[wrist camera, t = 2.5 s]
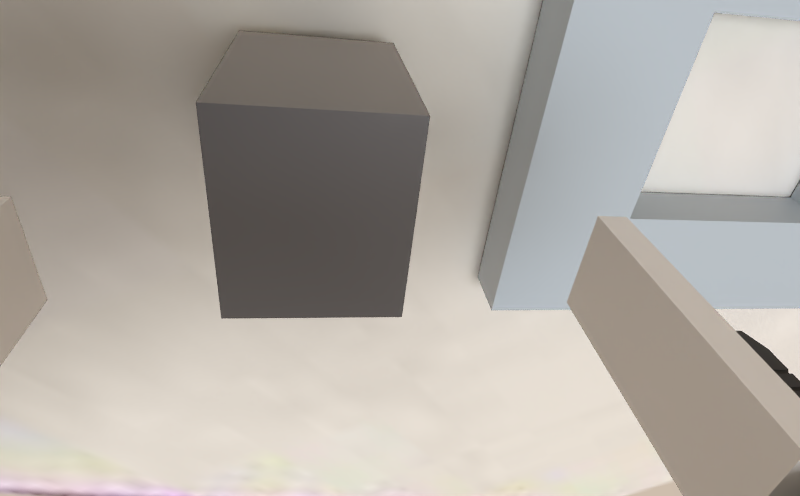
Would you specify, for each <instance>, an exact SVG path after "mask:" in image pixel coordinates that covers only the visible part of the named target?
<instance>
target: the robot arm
mask: <svg viewBox="0 0 800 496" xmlns="http://www.w3.org/2000/svg"><path fill="white" fill-rule="evenodd" d="M46 301H47V297H46V295H45V292H44V289H43V286H42V283H41V280H40V278H39V275H38V272H37V269H36V266H35V263H34V261H33V258H32V255H31V252H30V249H29V246H28V244H27V241H26V238H25V235H24V232H23V229H22V227H21V224H20V221H19V218H18V215H17V212H16V209H15V207H14V204H13V201H12V198H11V197H5V196H0V366H1V365H2V363H3V362H4V360H5V359H6V358H7V356H8V355H9V353H10V352H11V351H12V349H13V348H14V346H15V345H16V343H17V342H18V341H19V339H20V338H21V336H22V335H23V334H24V332H25V331H26V329H27V328H28V327H29V325H30V324H31V322H32V321H33V319H34V318H35V317H36V315H37V314H38V312H39V311H40V310H41V308H42V307H43V305H44V304H45V303H46ZM567 304H568V305H569V307H570V309H571V310H572V312H573V314H574V315H575V317H576V319H577V320H578V322H579V324H580V325H581V327H582V329H583V330H584V332H585V334H586V335H587V337H588V339H589V340H590V342H591V344H592V345H593V347H594V349H595V350H596V352H597V354H598V355H599V357H600V359H601V360H602V362H603V364H604V365H605V367H606V369H607V370H608V372H609V374H610V375H611V377H612V379H613V380H614V382H615V384H616V385H617V387H618V389H619V390H620V392H621V394H622V395H623V397H624V399H625V400H626V402H627V403H628V405H629V407H630V408H631V410H632V412H633V413H634V415H635V417H636V418H637V420H638V422H639V423H640V425H641V427H642V428H643V430H644V432H645V433H646V435H647V437H648V438H649V440H650V442H651V443H652V445H653V447H654V448H655V450H656V452H657V453H658V455H659V457H660V458H661V460H662V462H663V463H664V465H665V467H666V468H667V470H668V472H669V473H670V475H671V477H672V478H673V480H674V482H675V483H676V485H677V487H678V488H679V490H680V492H681V493H682V495H683V496H800V381H799V380H798V379H797V378H796V377H795V376H794V375H793V374H789V373H788V369H787V368H786V367H785V366H784V365H783V364H782V363H781V362H780V361H779V360H778V359H777V358H776V357H775V356H774V355H773V353H772V352H771V351H770V350H769V349H767V348H766V347H764V346H763V345H761V344H760V343H758V342H757V341H755V340H754V339H753V338H751V337H750V336H748V335H747V334H745V333H744V332H742V331H735V330H734V329H733V328H732V327H731V326H730V325H729V324H728V323H727V321H726V320H725V319H724V318H723V317H722V316H721V315H720V314H719V313H718V312H717V311H716V310H715V309H714V308H713V307H712V306H711V305H710V304H709V303H708V302H707V301H706V300H705V298H704V297H703V296H702V295H701V294H700V293H699V292H698V291H697V290H696V289H695V288H694V287H693V286H692V285H691V284H690V283H689V282H688V281H687V280H686V279H685V278H684V277H683V275H682V274H681V273H680V272H679V271H678V270H677V269H676V268H675V267H674V266H673V265H672V264H671V263H670V262H669V261H668V260H667V259H666V258H665V257H664V256H663V255H662V254H661V253H660V251H659V250H658V249H657V248H656V247H655V246H654V245H653V244H652V243H651V242H650V241H649V240H648V239H647V238H646V237H645V236H644V235H643V234H642V233H641V232H640V231H639V230H638V228H637V227H636V226H635V225H634V224H633V223H632V222H631V221H630V220H629V219H628V218H627V217H614V216H598V217H597V220H596V223H595V225H594V228H593V231H592V234H591V237H590V239H589V242H588V245H587V248H586V250H585V253H584V256H583V259H582V261H581V264H580V267H579V270H578V272H577V275H576V278H575V281H574V283H573V286H572V289H571V292H570V294H569V297H568V300H567Z"/></svg>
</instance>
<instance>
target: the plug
mask: <svg viewBox="0 0 800 496" xmlns="http://www.w3.org/2000/svg"><path fill="white" fill-rule="evenodd" d="M196 107H197V116H198V124H199V133H200V141H201V150H202V158H203V166H204V175H205V183H206V192H207V200H208V209H209V217H210V225H211V234H212V242H213V251H214V259H215V268H216V276H217V284H218V293H219V301H220V310H221V318H327V317H402V312H403V305H404V297H405V290H406V283H407V276H408V269H409V262H410V255H411V248H412V240H413V233H414V226H415V219H416V212H417V205H418V198H419V191H420V184H421V176H422V169H423V162H424V155H425V148H426V141H427V134H428V127H429V119H430V115H429V113H428V111H427V109H426V107H425V105H424V103H423V101H422V99H421V97H420V95H419V93H418V91H417V89H416V87H415V85H414V83H413V81H412V79H411V77H410V75H409V73H408V71H407V69H406V67H405V65H404V63H403V61H402V59H401V57H400V55H399V53H398V51H397V49H396V47H395V45H394V43H386V42H374V41H362V40H349V39H337V38H325V37H312V36H300V35H288V34H275V33H263V32H251V31H239V32H238V33H237V35H236V37H235V38H234V40H233V42H232V43H231V45H230V47H229V48H228V50H227V52H226V53H225V55H224V57H223V58H222V60H221V62H220V63H219V65H218V67H217V68H216V70H215V71H214V73H213V75H212V76H211V78H210V80H209V81H208V83H207V85H206V86H205V88H204V90H203V91H202V93H201V95H200V96H199V98H198V100H197V101H196Z"/></svg>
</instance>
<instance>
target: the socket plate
mask: <svg viewBox="0 0 800 496" xmlns="http://www.w3.org/2000/svg"><path fill="white" fill-rule="evenodd" d="M715 12H716V13H726V14H736V15H745V16H755V17H765V18H775V19H785V20H795V21H800V0H543V3H542V7H541V11H540V15H539V20H538V24H537V28H536V32H535V37H534V41H533V45H532V49H531V54H530V58H529V62H528V66H527V70H526V75H525V79H524V83H523V87H522V92H521V96H520V100H519V104H518V109H517V113H516V117H515V121H514V126H513V130H512V134H511V138H510V143H509V147H508V151H507V155H506V159H505V164H504V168H503V172H502V176H501V181H500V185H499V189H498V193H497V198H496V202H495V206H494V210H493V215H492V219H491V223H490V227H489V231H488V236H487V240H486V244H485V248H484V253H483V257H482V261H481V265H480V270H479V274H478V279H479V281H480V283H481V286H482V288H483V291H484V293H485V296H486V298H487V300H488V303H489V305H490V308H491V310H571V309H570V307H569V305H568V304H567V300H568V297H569V294H570V292H571V289H572V286H573V283H574V281H575V278H576V275H577V272H578V270H579V267H580V264H581V261H582V259H583V256H584V253H585V250H586V248H587V245H588V242H589V239H590V237H591V234H592V231H593V228H594V225H595V223H596V220H597V217H598V216H614V217H627V218H628V219H629V220H630V221H631V222H632V223H633V224H634V225H635V226H636V227H637V228H638V230H639V231H640V232H641V233H642V234H643V235H644V236H645V237H646V238H647V239H648V240H649V241H650V242H651V243H652V244H653V245H654V246H655V247H656V248H657V249H658V250H659V251H660V253H661V254H662V255H663V256H664V257H665V258H666V259H667V260H668V261H669V262H670V263H671V264H672V265H673V266H674V267H675V268H676V269H677V270H678V271H679V272H680V273H681V274H682V275H683V277H684V278H685V279H686V280H687V281H688V282H689V283H690V284H691V285H692V286H693V287H694V288H695V289H696V290H697V291H698V292H699V293H700V294H701V295H702V296H703V297H704V298H705V300H706V301H707V302H708V303H709V304H710V305H711V306H712V307H713V308H714V309H764V308H800V182H799V184H798V185H797V187H796V189H795V190H794V192H793V194H792V195H791V197H764V196H736V195H708V194H679V193H651V192H641V190H642V188H643V186H644V183H645V181H646V178H647V176H648V173H649V171H650V169H651V166H652V164H653V161H654V159H655V156H656V154H657V151H658V149H659V147H660V144H661V142H662V139H663V137H664V134H665V132H666V130H667V127H668V125H669V122H670V120H671V117H672V115H673V112H674V110H675V108H676V105H677V103H678V100H679V98H680V95H681V93H682V91H683V88H684V86H685V83H686V81H687V78H688V76H689V73H690V71H691V69H692V66H693V64H694V61H695V59H696V56H697V54H698V52H699V49H700V47H701V44H702V42H703V39H704V37H705V34H706V32H707V30H708V27H709V25H710V22H711V20H712V17H713V15H714V13H715Z"/></svg>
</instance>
